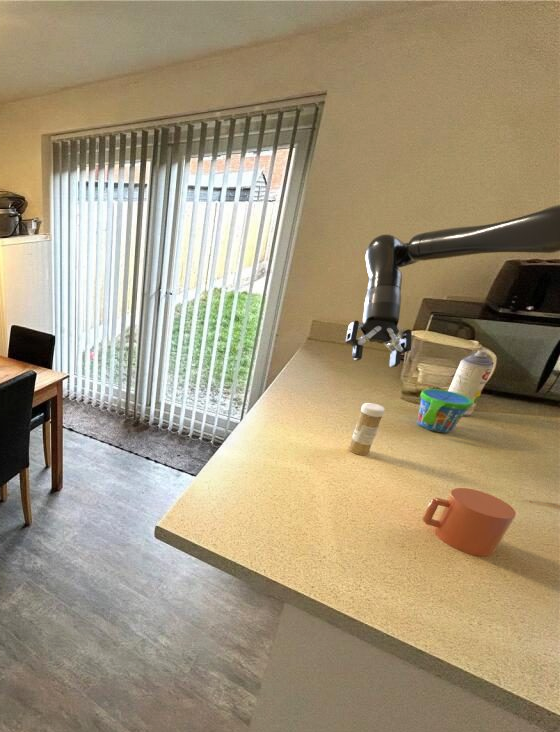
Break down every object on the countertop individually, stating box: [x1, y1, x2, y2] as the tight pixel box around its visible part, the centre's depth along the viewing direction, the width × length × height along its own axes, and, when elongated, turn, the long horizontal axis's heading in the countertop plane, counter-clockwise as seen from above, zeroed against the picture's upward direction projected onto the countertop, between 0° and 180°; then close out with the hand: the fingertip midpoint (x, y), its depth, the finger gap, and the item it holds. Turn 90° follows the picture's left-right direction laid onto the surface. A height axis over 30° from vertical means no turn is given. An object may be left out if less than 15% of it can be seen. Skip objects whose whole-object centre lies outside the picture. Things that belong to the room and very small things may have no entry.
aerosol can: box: [447, 349, 495, 417], centre depth 119 cm, size 7×7×20 cm
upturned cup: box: [422, 487, 517, 557], centre depth 75 cm, size 11×8×9 cm
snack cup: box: [417, 388, 473, 434], centre depth 113 cm, size 16×10×10 cm
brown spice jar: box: [348, 402, 386, 456], centre depth 101 cm, size 5×5×14 cm
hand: (375, 363), depth 103 cm, fingers open, 8 cm apart
